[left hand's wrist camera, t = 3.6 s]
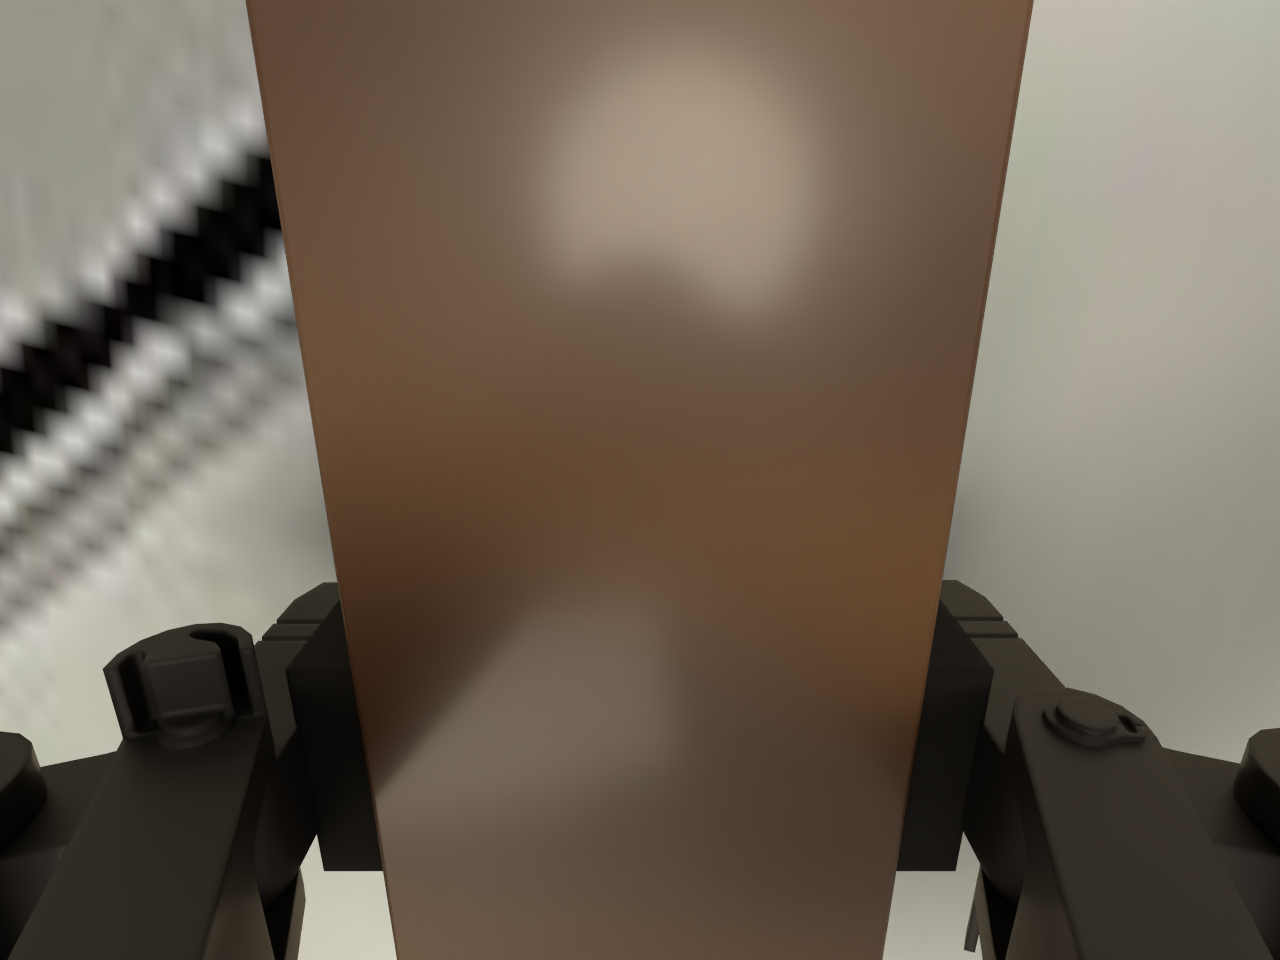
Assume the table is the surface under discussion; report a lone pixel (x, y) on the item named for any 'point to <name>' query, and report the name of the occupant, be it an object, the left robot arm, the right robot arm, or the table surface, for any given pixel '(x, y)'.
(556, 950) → the bar
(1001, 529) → the table surface
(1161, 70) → the table surface
